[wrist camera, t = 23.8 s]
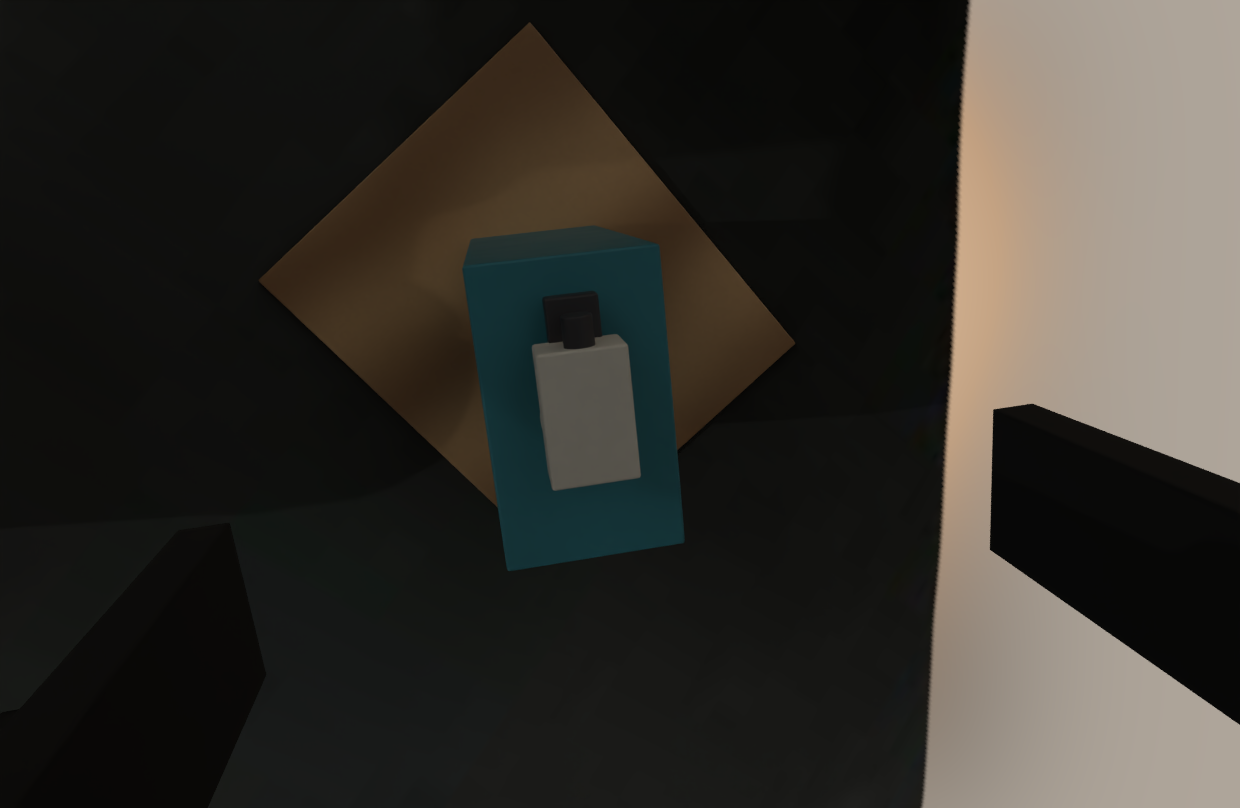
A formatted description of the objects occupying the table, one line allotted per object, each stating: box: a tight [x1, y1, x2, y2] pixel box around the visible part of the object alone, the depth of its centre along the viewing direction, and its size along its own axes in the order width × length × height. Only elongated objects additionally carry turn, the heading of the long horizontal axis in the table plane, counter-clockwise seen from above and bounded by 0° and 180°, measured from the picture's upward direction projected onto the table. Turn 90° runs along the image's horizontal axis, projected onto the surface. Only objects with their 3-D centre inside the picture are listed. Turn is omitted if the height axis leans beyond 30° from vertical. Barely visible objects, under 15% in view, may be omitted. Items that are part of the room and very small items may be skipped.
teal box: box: [462, 225, 685, 571], centre depth 32 cm, size 18×6×10 cm
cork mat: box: [259, 23, 795, 507], centre depth 40 cm, size 20×17×1 cm
